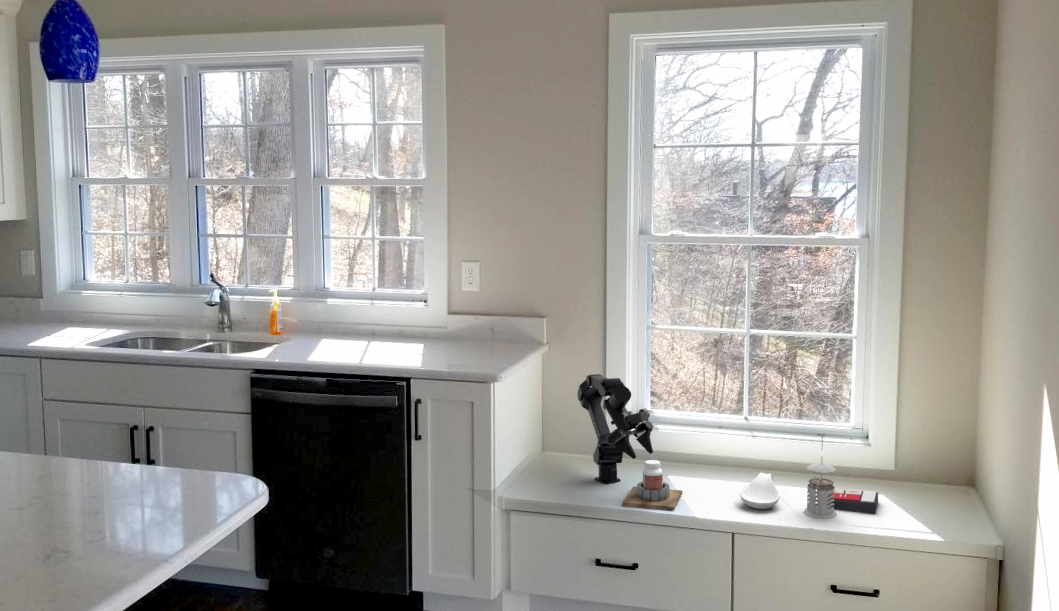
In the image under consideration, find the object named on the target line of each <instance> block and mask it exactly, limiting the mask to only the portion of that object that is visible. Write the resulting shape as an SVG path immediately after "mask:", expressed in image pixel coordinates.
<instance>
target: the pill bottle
mask: <svg viewBox="0 0 1059 611" xmlns="http://www.w3.org/2000/svg"><path fill="white" fill-rule="evenodd" d="M660 467H661V461H660V460H657V459H648V460H645V462H644V468H643V470H642V481H643V488H646V489H662V488H663V482H664V479H663V478H664V477H663V475H664V474H663V470H662V468H660Z"/></svg>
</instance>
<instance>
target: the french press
mask: <svg viewBox="0 0 1059 611" xmlns="http://www.w3.org/2000/svg"><path fill="white" fill-rule="evenodd" d="M818 436H820V437H821V449H823V444H824V443H823V442H824V440H823V438H824V437H826V432H825V431H819V434H818ZM820 459H821V462H814V463H811V464H810V465H808V466H807V467H806V469H807V470H808V471H809V472H811V473H815V474H819V475H820V477H816V475H815V476H813V478H810V479H809V480H808V482H809V483H808V484H807V496H806V498H807V499H806V501H807V503H806V507H805V509H804V510H803V514H804V515H805V516H808V517H812V518H815V519H832V518H835V517H837V516H838V512H837V511H836V510H835V509H834V507H831V506H832V505H833V506H834V503H832V501H833V502H834V499H832V497H833V498H834V495H832V494H831V493H834V488H835V486H834V481H833V480H831V479H828V478H823V475H827V474H833V473H834V472H836V470H837V469H836V468H835V467H834V466H832V465H831V464H829V463H825V462H823V457H821V458H820Z"/></svg>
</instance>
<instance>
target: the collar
mask: <svg viewBox="0 0 1059 611" xmlns="http://www.w3.org/2000/svg"><path fill="white" fill-rule="evenodd" d="M636 487H637V498H639V499H641V500H644V501H651V502H656V501H664V500H667V499H668V498H669V492H670V490H671V489H670V484H669V483H668V482H665V481H663V488H662V489H646V488H643V480H642V481H640V482H638V483H636Z"/></svg>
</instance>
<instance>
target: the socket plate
mask: <svg viewBox="0 0 1059 611" xmlns="http://www.w3.org/2000/svg"><path fill="white" fill-rule="evenodd" d="M681 495H682V496H683V490H681V489H670V492H669V498H668V499H667V500H664V501H656V502H651V501H644V500H641V499H639V498H637V486H635V485H633V486H632V487H631V489H630V490H629V492H628V494H626V496H625V498H624V500H622V506H623V507H629V506H630V507H632V508H642V507H643V508H644V509H651V508H659V509H658V510H662V509H671V510H670V511H673V510H674V509H675V510H676V508H675V507H677V506H678V504H679V502H680V500H681V498H682V496H681ZM680 497H681V498H680ZM679 499H680V500H679ZM678 501H679V502H678ZM677 503H678V504H677ZM676 505H677V506H676ZM643 508H642V509H643ZM675 510H674V511H675Z"/></svg>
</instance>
